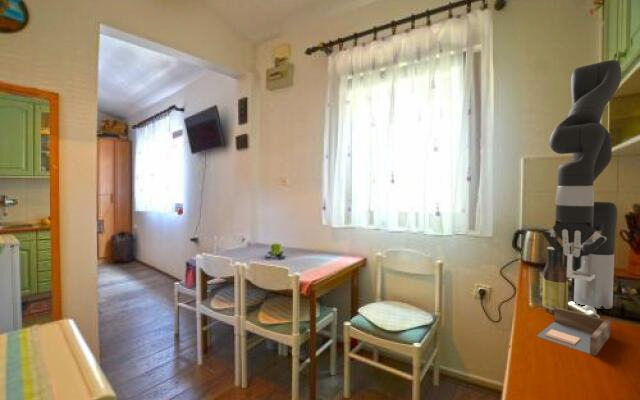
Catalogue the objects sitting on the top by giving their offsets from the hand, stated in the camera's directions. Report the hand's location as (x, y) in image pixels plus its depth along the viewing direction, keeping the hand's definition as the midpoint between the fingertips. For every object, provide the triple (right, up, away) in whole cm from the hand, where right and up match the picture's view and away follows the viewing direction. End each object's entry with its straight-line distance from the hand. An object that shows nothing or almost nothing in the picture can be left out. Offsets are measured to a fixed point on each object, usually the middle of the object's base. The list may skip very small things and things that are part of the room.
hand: (572, 269), depth 79 cm
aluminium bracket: (+1, -2, -2) cm, 2 cm away
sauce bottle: (+6, -16, +14) cm, 22 cm away
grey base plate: (-1, -17, -2) cm, 17 cm away
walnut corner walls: (-1, -17, -2) cm, 17 cm away
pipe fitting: (+12, -17, +9) cm, 22 cm away
